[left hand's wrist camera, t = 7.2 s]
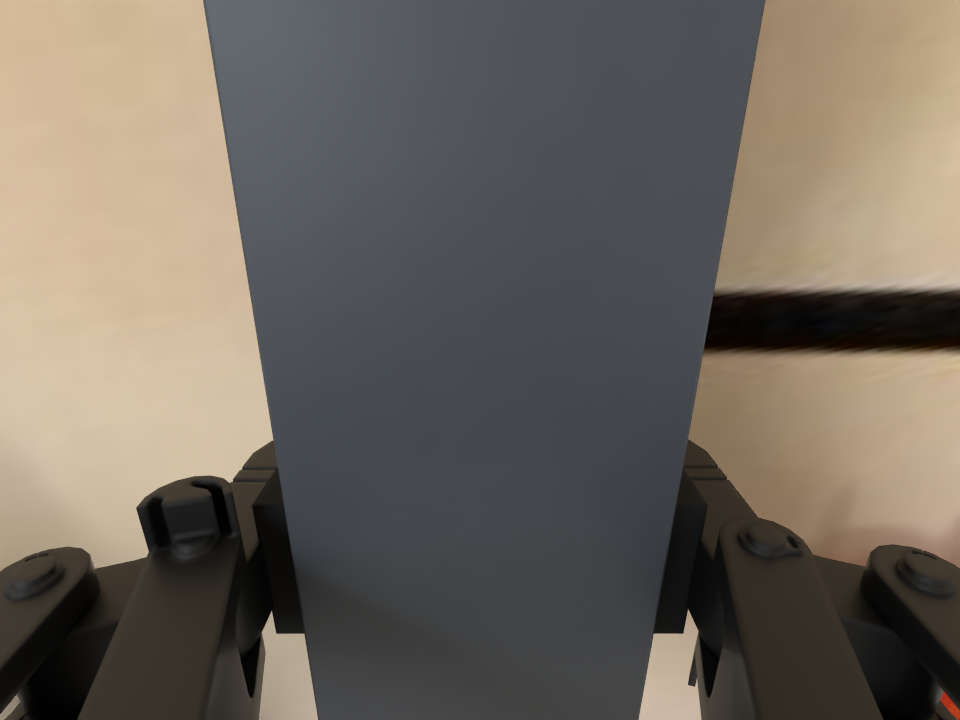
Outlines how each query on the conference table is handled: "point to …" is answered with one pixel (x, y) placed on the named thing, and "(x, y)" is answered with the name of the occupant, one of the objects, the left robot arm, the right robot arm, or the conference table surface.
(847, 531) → the conference table surface
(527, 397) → the bar
